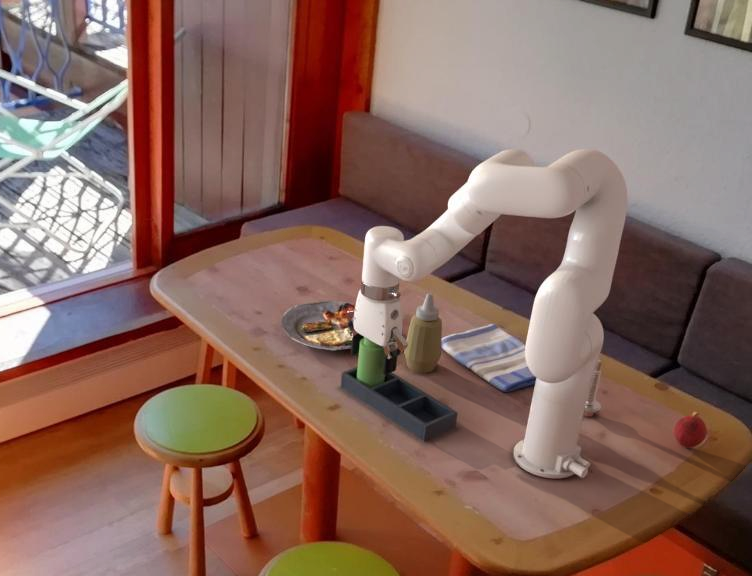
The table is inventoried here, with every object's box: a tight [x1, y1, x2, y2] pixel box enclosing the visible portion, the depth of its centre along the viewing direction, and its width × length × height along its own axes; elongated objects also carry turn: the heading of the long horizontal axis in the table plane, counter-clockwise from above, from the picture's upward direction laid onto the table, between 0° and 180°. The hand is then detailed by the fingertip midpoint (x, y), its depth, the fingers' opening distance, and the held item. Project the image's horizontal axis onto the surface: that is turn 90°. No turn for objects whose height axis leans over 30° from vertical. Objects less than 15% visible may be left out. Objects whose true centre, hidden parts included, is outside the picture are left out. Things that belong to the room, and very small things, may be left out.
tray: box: [340, 366, 459, 442], centre depth 216 cm, size 25×9×4 cm, turn 37°
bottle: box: [357, 337, 386, 388], centre depth 218 cm, size 6×6×17 cm
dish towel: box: [441, 323, 536, 393], centre depth 234 cm, size 17×24×3 cm
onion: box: [673, 411, 707, 449], centre depth 205 cm, size 6×6×8 cm
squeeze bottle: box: [403, 292, 443, 374], centre depth 227 cm, size 8×8×18 cm
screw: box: [583, 358, 602, 418], centre depth 213 cm, size 13×5×5 cm
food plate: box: [280, 300, 356, 352], centre depth 244 cm, size 25×23×4 cm
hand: (372, 362), depth 219 cm, fingers open, 9 cm apart
